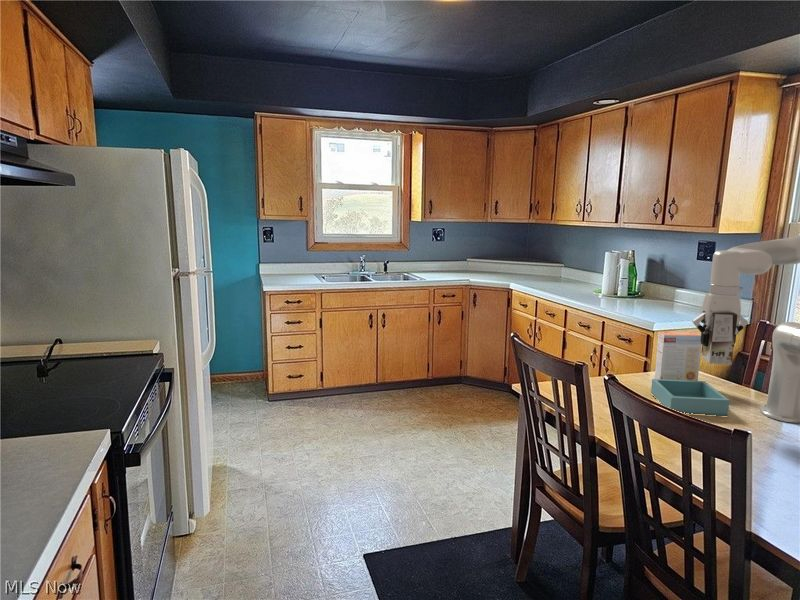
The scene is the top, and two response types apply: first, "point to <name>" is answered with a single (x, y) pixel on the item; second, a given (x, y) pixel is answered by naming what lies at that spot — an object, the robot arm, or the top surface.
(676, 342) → the cracker box
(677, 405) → the tote
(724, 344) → the coffee box
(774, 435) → the top surface
